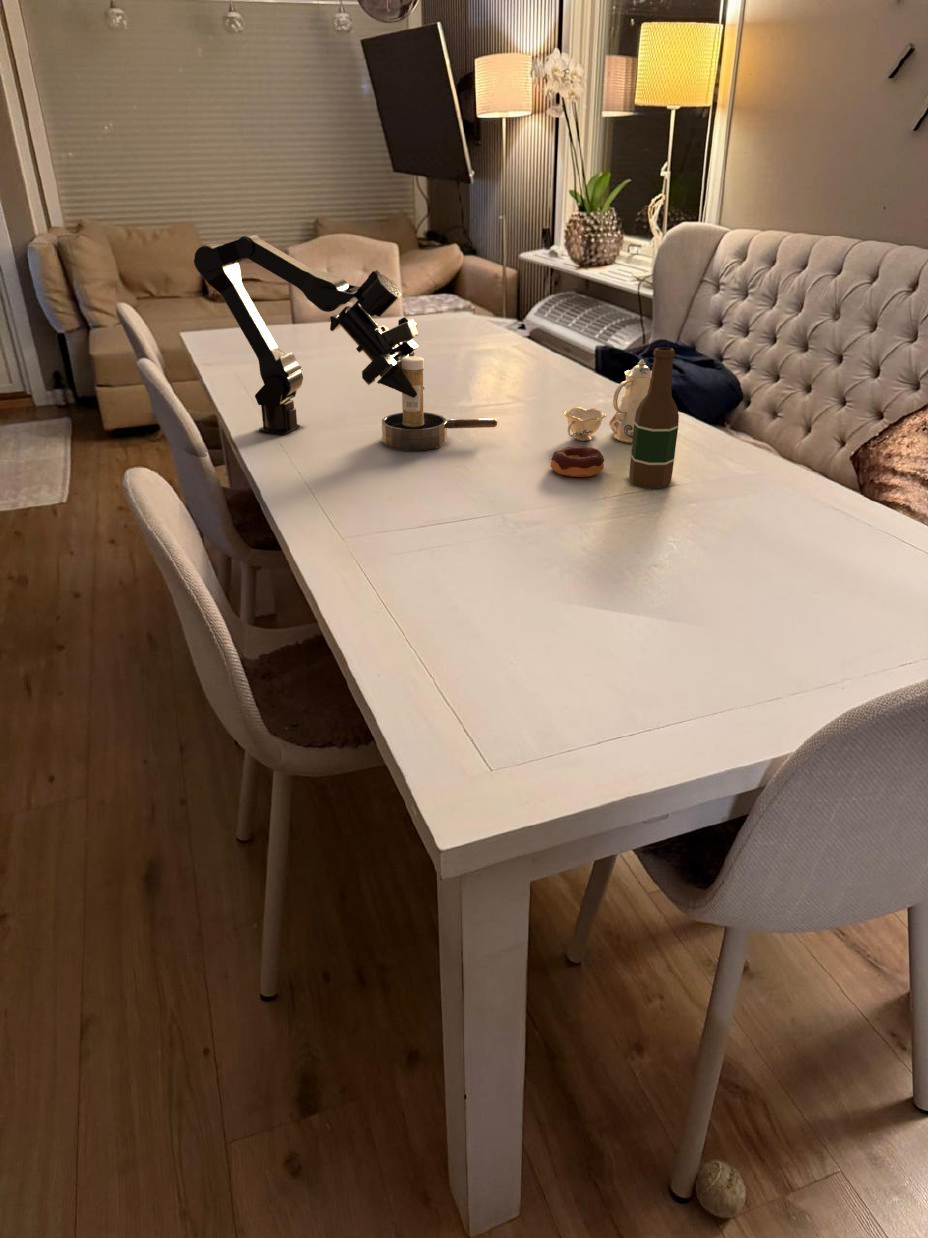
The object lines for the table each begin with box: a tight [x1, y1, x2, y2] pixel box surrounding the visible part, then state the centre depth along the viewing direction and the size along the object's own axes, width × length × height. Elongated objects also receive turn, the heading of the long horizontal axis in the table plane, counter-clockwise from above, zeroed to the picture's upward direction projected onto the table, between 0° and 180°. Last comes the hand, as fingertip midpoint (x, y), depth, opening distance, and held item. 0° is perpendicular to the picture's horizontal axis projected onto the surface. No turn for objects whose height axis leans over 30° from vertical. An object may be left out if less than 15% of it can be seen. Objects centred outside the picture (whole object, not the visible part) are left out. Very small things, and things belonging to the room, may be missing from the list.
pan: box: [381, 411, 448, 452], centre depth 184 cm, size 13×13×4 cm
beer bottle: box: [628, 346, 680, 489], centre depth 159 cm, size 8×8×24 cm
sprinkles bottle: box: [401, 355, 425, 427], centre depth 180 cm, size 5×5×14 cm
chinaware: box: [562, 358, 652, 444], centre depth 187 cm, size 28×17×17 cm, turn 135°
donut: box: [549, 446, 605, 478], centre depth 169 cm, size 10×10×4 cm
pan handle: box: [446, 418, 498, 429], centre depth 185 cm, size 11×2×2 cm, turn 96°
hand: (419, 393), depth 180 cm, fingers closed on sprinkles bottle, 4 cm apart
